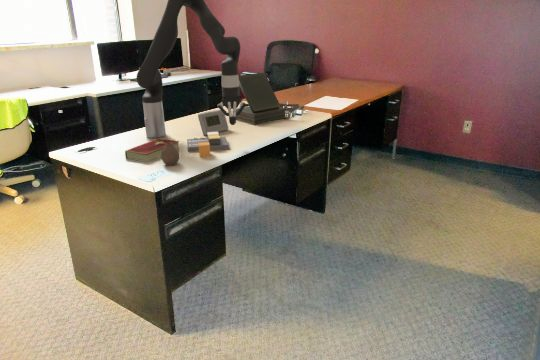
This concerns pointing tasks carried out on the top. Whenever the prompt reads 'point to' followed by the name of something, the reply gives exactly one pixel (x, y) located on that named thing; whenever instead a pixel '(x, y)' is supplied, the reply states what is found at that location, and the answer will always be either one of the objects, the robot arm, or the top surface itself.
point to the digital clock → (213, 121)
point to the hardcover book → (149, 150)
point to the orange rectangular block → (204, 149)
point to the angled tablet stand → (259, 100)
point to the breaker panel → (194, 142)
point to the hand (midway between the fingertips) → (232, 124)
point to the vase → (170, 154)
